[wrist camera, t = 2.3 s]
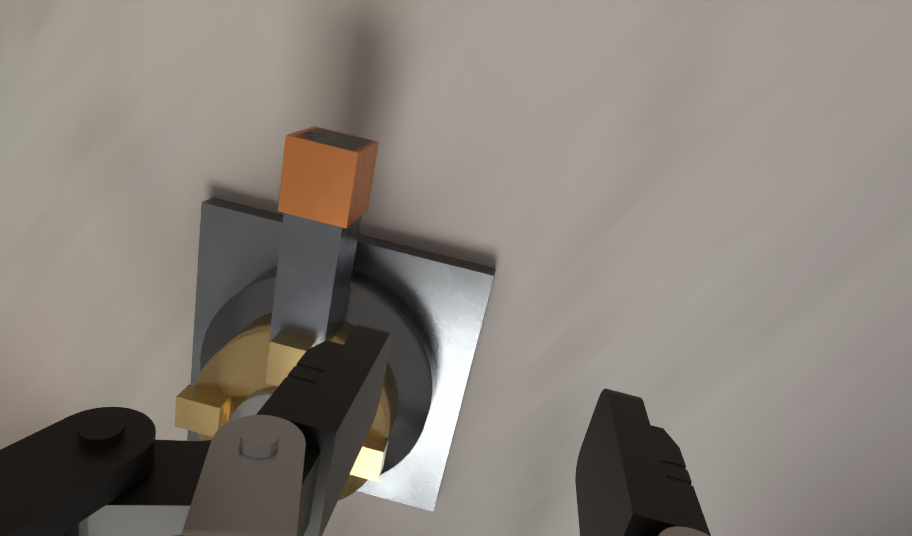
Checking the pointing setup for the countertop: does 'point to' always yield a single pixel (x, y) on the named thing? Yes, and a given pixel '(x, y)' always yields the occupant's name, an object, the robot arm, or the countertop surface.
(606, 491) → the robot arm
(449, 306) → the housing
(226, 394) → the rotary lever handle
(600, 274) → the countertop surface
